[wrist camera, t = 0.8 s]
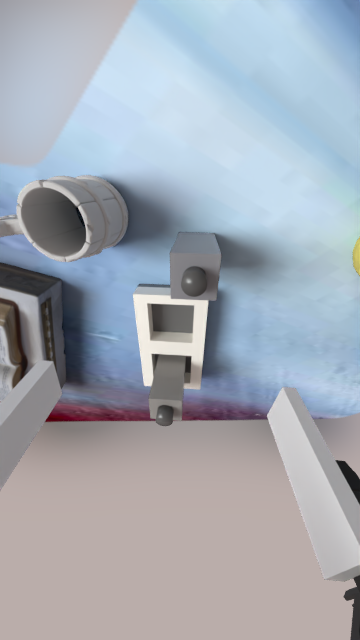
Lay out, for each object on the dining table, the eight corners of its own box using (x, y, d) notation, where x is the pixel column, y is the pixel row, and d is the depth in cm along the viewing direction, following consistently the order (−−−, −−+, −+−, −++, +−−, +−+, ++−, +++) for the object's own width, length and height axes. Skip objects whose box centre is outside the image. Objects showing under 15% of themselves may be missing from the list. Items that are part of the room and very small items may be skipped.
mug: (136, 243, 27) (100, 275, 17) (53, 248, 29) (-27, 281, 18) (124, 173, 23) (67, 160, 13) (27, 182, 24) (-93, 177, 14)
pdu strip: (207, 286, 30) (209, 300, 26) (199, 374, 39) (200, 393, 36) (139, 283, 30) (131, 296, 27) (148, 371, 40) (143, 389, 36)
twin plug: (185, 350, 35) (181, 412, 25) (185, 368, 38) (180, 431, 28) (160, 348, 35) (145, 409, 26) (161, 367, 38) (148, 429, 28)
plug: (213, 233, 26) (223, 259, 16) (210, 267, 28) (217, 308, 19) (179, 232, 26) (167, 258, 16) (178, 266, 29) (168, 306, 19)
